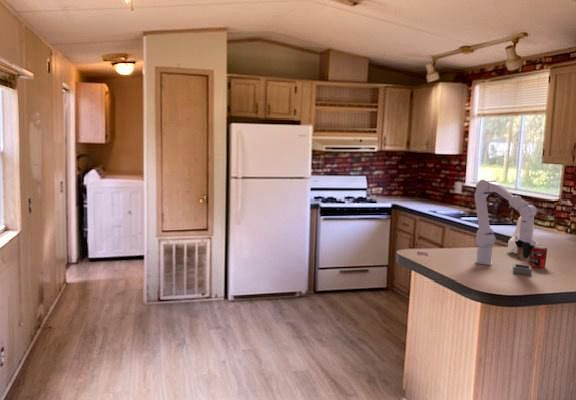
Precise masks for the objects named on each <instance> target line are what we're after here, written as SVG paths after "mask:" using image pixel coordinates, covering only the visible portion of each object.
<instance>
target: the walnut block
mask: <svg viewBox="0 0 576 400" xmlns="http://www.w3.org/2000/svg"><path fill="white" fill-rule="evenodd" d="M523 252H524V251H523V247H518V249H517V254H516V259H517V260H518V261H520V262H529V257H528V258H524V256H523Z"/></svg>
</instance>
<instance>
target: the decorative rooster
mask: <svg viewBox="0 0 576 400" xmlns="http://www.w3.org/2000/svg"><path fill="white" fill-rule="evenodd" d="M520 224H521V216H519V217H518V219H517V222H516V227H515V230H514V232H513V233H512V237H510V239H509V240H508V242H507V247H508V250H509V251H511V253H513V254H515V255H517V245H516V243H515V241H518V240H517V239H515V235H519V233H520ZM534 229H535V222H534V223H533V232H532V240H534V241H535V242H536V245H539V243H538V241H537V239H536V238H535V237H534V231H535V230H534Z"/></svg>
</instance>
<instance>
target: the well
mask: <svg viewBox="0 0 576 400" xmlns="http://www.w3.org/2000/svg"><path fill="white" fill-rule="evenodd" d="M532 271H533V270H532V267H531V266H529V264H521V263H520V264H519V263H512V274H514V275H524V276H529V277H531V276H532Z"/></svg>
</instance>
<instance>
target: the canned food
mask: <svg viewBox="0 0 576 400" xmlns="http://www.w3.org/2000/svg"><path fill="white" fill-rule="evenodd" d="M547 253H548V247H547V245H541V244H538V245H535V247H534V248H533V249H532V251H531V253H530V255H529V261H528V265H529V266H531V268H535V269H545V267H546V262H547V256H548V255H547Z"/></svg>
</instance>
